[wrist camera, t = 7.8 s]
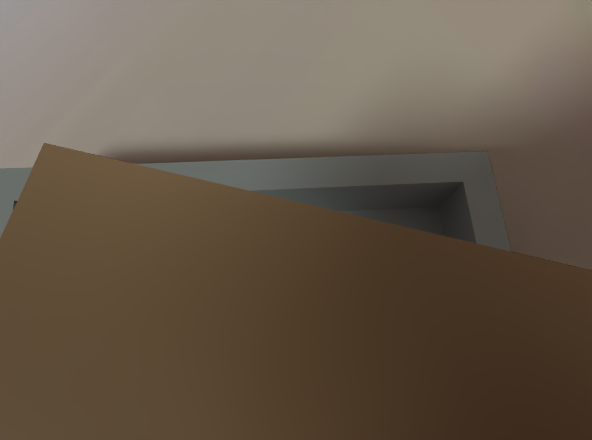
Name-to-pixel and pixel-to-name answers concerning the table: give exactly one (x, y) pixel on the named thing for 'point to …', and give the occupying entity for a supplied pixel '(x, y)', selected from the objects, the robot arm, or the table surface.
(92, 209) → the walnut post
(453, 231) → the tray
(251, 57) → the table surface
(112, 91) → the table surface
